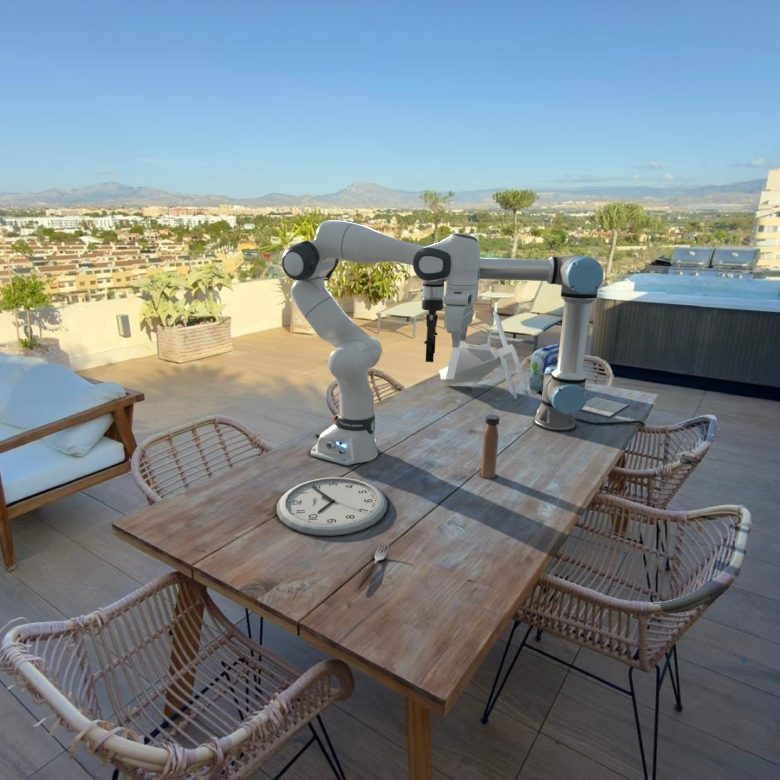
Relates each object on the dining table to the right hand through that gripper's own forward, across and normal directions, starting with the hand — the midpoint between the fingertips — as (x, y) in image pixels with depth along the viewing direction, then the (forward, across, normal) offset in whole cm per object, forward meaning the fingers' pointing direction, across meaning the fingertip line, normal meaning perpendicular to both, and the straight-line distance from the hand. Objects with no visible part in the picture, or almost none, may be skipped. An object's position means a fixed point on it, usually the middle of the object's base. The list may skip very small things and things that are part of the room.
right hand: (430, 357), depth 190 cm
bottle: (+28, +36, +21) cm, 50 cm away
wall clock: (+28, +61, -23) cm, 71 cm away
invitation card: (+28, -38, +73) cm, 87 cm away
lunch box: (+28, -61, +55) cm, 87 cm away
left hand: (-14, +38, +9) cm, 41 cm away
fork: (+28, +87, -8) cm, 91 cm away
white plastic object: (+28, -50, +22) cm, 61 cm away
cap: (+9, +36, +21) cm, 42 cm away
